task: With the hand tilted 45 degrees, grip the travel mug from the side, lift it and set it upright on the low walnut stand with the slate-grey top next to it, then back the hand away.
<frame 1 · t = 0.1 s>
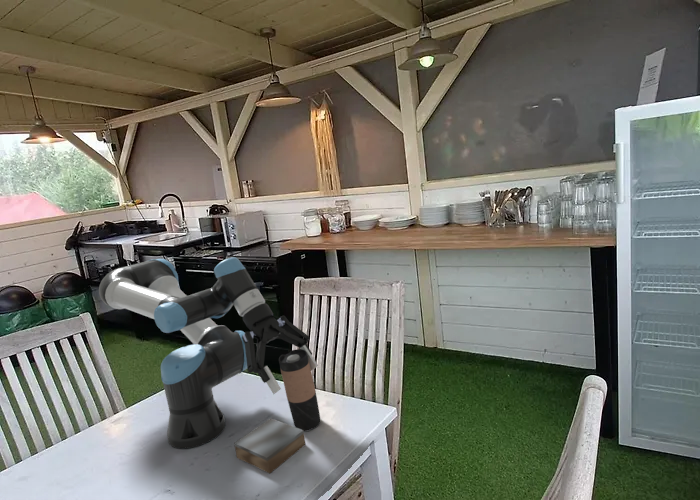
hand: (296, 379, 113), 15 cm above the table, tool tilted 35°, fingers open, 13 cm apart
travel mug: (307, 423, 120), on the table, touching gripper
walnut stand: (271, 451, 110), on the table
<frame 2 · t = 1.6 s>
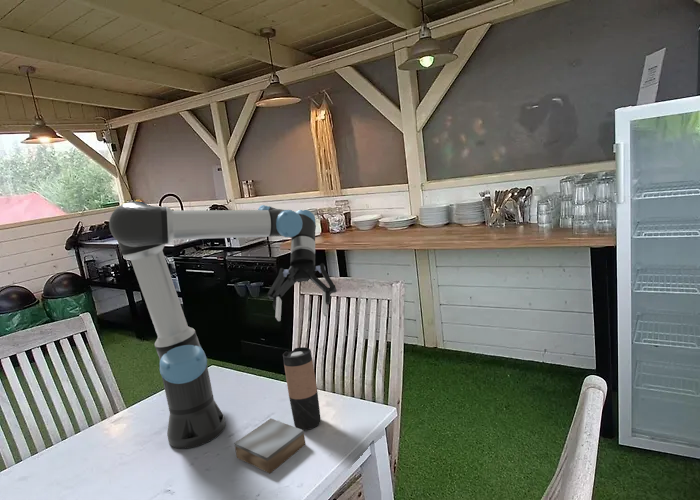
hand: (301, 316, 126), 27 cm above the table, tool tilted 45°, fingers open, 13 cm apart
travel mug: (307, 423, 120), on the table
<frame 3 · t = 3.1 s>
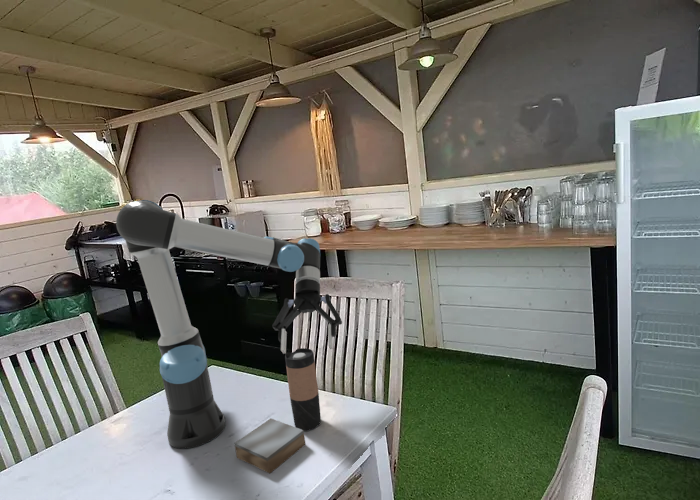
hand: (306, 349, 126), 18 cm above the table, tool tilted 45°, fingers open, 13 cm apart
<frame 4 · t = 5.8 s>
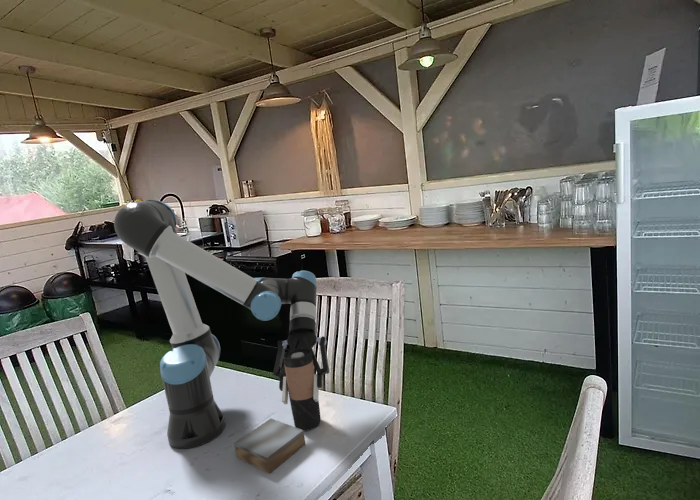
hand: (300, 401, 115), 9 cm above the table, tool tilted 45°, fingers closed on travel mug, 8 cm apart
travel mug: (307, 424, 120), on the table, touching gripper
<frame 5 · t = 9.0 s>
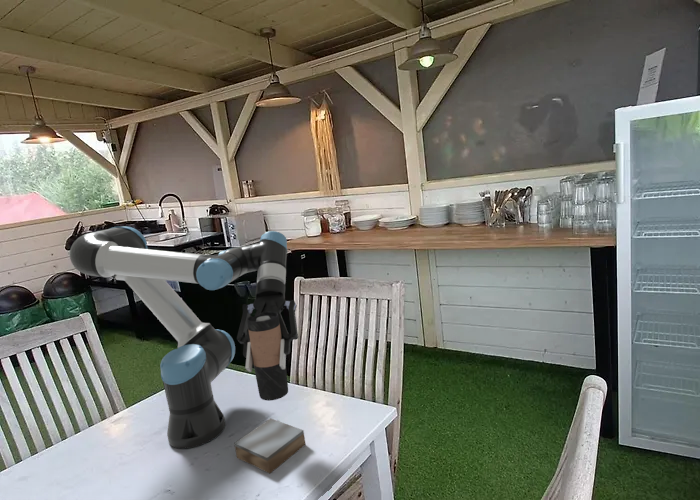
hand: (265, 368, 105), 22 cm above the table, tool tilted 45°, fingers closed on travel mug, 7 cm apart
travel mug: (274, 394, 111), point 14 cm above the table, touching gripper
when the fingers open (14 cm above the table, at t = 11.7 s): travel mug drops 1 cm, resting on walnut stand.
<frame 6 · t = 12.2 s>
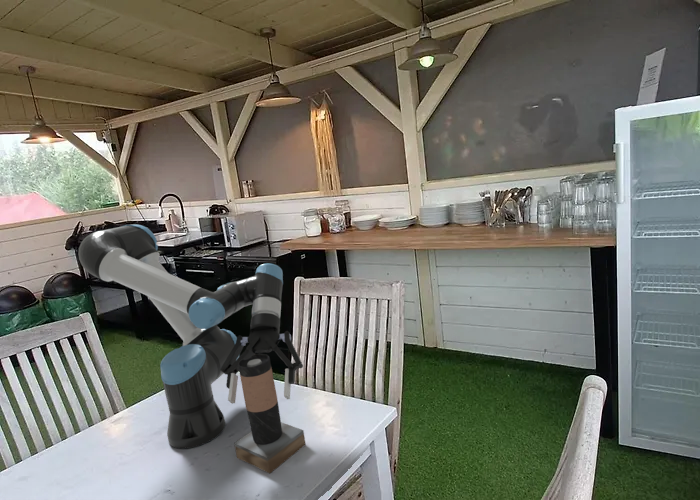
hand: (259, 399, 105), 15 cm above the table, tool tilted 45°, fingers open, 13 cm apart
travel mug: (268, 436, 110), point 4 cm above the table, touching walnut stand
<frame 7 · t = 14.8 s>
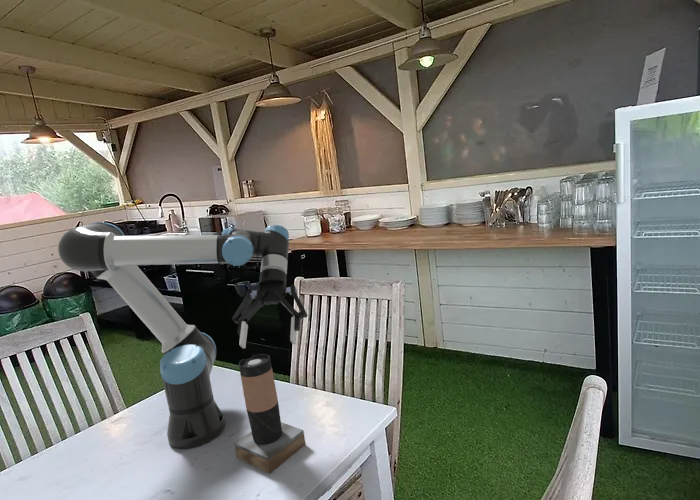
hand: (267, 344, 115), 24 cm above the table, tool tilted 45°, fingers open, 13 cm apart
nothing on the table moved.
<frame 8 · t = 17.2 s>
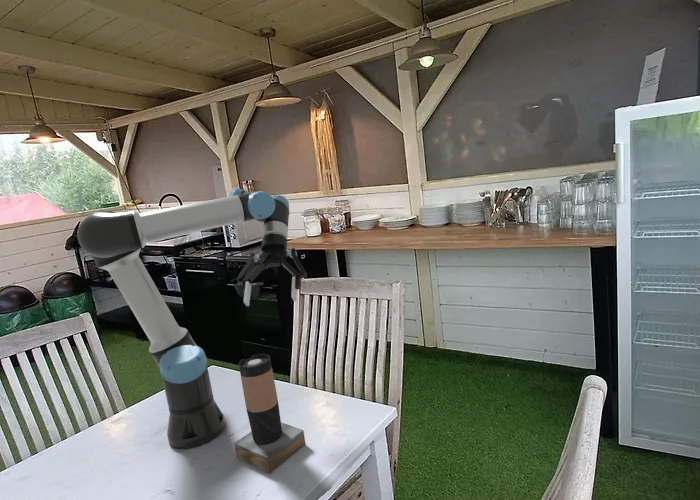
hand: (269, 301, 123), 33 cm above the table, tool tilted 45°, fingers open, 13 cm apart
nothing on the table moved.
at the end: travel mug 0.4 cm off-centre on the walnut stand, point 3.8 cm above the walnut stand's base; travel mug tilted 0°; the gripper is holding nothing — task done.
